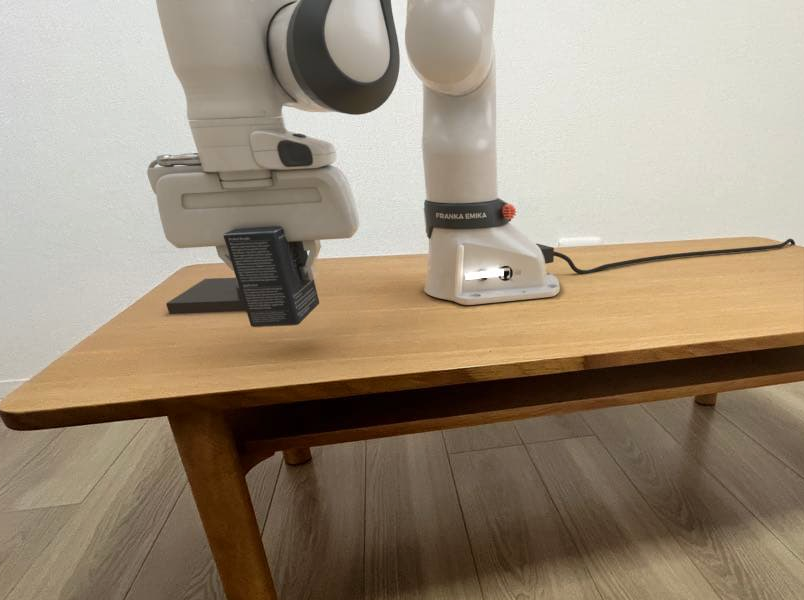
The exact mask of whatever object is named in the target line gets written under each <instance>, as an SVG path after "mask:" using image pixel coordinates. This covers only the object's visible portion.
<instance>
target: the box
mask: <svg viewBox="0 0 804 600" xmlns="http://www.w3.org/2000/svg"><path fill="white" fill-rule="evenodd" d="M223 236H224V239H225V242H226V246H227V249H228V252H229V255H230V259H231V262H232V265H233V269H234V271H233V273H234V272H235V273H234V276H235V275H236V277H235V278H236V279H237V282H238V285H239V288H240V292H241V295H242V299H243V302H244V305H245V308H246V311H245V312H246V314H247V317H248V322H249V325H250V326H251V327H252V328H264V327H265V328H270V327H293V326H298V325H300V324H301V323H302V322H303V321H304V320H305V319H306V318H307V316H309V315H310V314H311V312H313V311H314V309H315V308H317V307H318V305H320V300H319V295H318V291H317V287H316V282H315V280H313V281H302V280H301V277H300V276H301V274H300V273H299V269H298V266H299V265H301V264H302V263H306V261H307V258H308V255H309V253H308V251H305V250H304V247H303V243H302V241H294V242H288V241H287V240H286V237H285V234H284V230H283V228H282V227H279V226H272V227H257V228H244V229H235V230H231V231H229V232H227V233H224V234H223Z"/></svg>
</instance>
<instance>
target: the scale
mask: <svg viewBox="0 0 804 600" xmlns="http://www.w3.org/2000/svg"><path fill="white" fill-rule="evenodd" d="M165 304H166V308H167V311H168V314H169V315H179V314H181V315H182V314H184V315H185V314H206V313H207V314H208V313H232V312H247V311H246V308H245V305H244V302H243V299H242V295H241V292H240V288H239V285H238V283H237V280H236V277H214V278H203V279H202V280H201V281H199V282H198V283H196V284H194V285H193V286H191V287H190V288H188V289H186V290H185V291H183V292H182V293H180V294H179V295H177V296H176V297H174V298H172V299H171V300H169V301H168V302H166V303H165Z"/></svg>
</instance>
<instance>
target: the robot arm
mask: <svg viewBox="0 0 804 600" xmlns="http://www.w3.org/2000/svg"><path fill="white" fill-rule="evenodd" d="M495 2H496V0H407V1H406V17H405V18H406V19H405V29H404V45H405V51H406V55H407V60H408V63H409V65H410V67H411V69H412V71H413V73H414V74H415V75H416V77H417V78H418V79H419V80H420V82H421V83H422V132H421V133H422V137H421V151H422V164H423V175H424V187H425V188H424V189H425V198H426V199H424V202H423V219H424V228H425V234H426V237H427V238H428V256H427V269H426V270H427V271H426V277H425V284H424V288H423V291H424V293H426V294H427V295H428V296H431V297H433V298H435V299H441V300H446V301H452V302H455V303H456V304H460V305H463V306H473V305H484V304H494V303H503V302H504V303H505V302H514V301H523V300H524V301H525V300H533V299H543V298H552V297H555V296H557V295H558V294H559V293H560V290H561V288H560V282H559V281H560V280H559V279H558V278H557V276H555V275H554V274H552V273H551V272H548V271H547V264H552V263H554V259H555V258H554V257H557V258H560V259H563V260H564V261H566V262H567V264H568V265H569V267H570V268H571V270H572V271H573V272H575V273H576V274H580V275H587V274H593V273H598V272H600V271H603V270H606V269H610V268H611V269H612V268H617V267H621V266H629V265H633V264H638V263H644V262H652V261H660V260H667V259H675V258H676V259H677V258H685V257H686V258H687V257H696V256H697V257H698V256H708V255H709V256H710V255H720V254H733V253H745V252H755V251H765V250H775V249H781V248H784V247H786V246H787V245H788V244H789V243H790V244H791V246H795V245H796V242H795V240H794V239H793V238H788V239H786V240H785V241H783V242H782V243H778V244H771V245H770V244H769V245H760V246H749V247H739V248H726V249H725V248H723V249H713V250H704V251H703V250H701V251H689V252H679V253H671V254H663V255H661V254H660V255H653V256H646V257H640V258H633V259H627V260H622V261H618V262H611V263H606V264H602V265H599V266H597V267H594V268H591V269H581V268H578V267H577V266H576V265H575V264H574V262H573V260H572V259H571V258H570V257H569V256H567V254H564V253H561V252H559V251H558V252H557V251H555V248H554V247H553V246H548V245H544V244H540V243H536V242H535V241H533V240H532V239H531V238H529V237H528V236H527V235H526V234H524V233H523V232H522V231H521V230H520V229H518V228H517V227H515V226H514V225H513V224H512V223H511V222H512V219H514V218H515V216H516V215H517V210H516V208H515V206H514V205H513V204H511V203H509V202H507V201H505V200H503V199H502V198H499V195H498V161H497V66H496V65H497V64H496V63H497V61H496V60H497V59H496V47H495V43H494V40H493V31H494V17H495V6H496V5H495V4H496V3H495ZM155 4H156V8H157V14H158V18H159V23H160V27H161V31H162V35H163V39H164V43H165V47H166V51H167V53H168V58H169V60H170V61H169V62H170V65H171V67H172V70H173V73H174V74H175V76H176V77H177V80H178V81H179V83H180V85H181V87H182V89H183V92H184V96H185V101H186V117H187V121H188V125H189V129H190V131H191V136H192V138H193V141H194V145H195V148H196V151H197V152H193V153H192V152H190V153H189V152H188V153H183V154H181V153H180V154H175V155H174V154H173V155H172V154H160V155H157V156H156V159H154V160H152V161H151V162H150V163H149V165H148V167H147V171H146V173H147V179H148V181H149V183H150V186H151V189H152V192H153V193H154V195H155V196H156V203H157V208H158V215H159V219H160V221H161V227H162V230H163V234H164V236H165V239H166V240H167V242H169V243H170V244H171V245H172V246H174V247H175V248H176V249H193V248H194V249H195V248H208V247H210V248H211V247H215V249H216V253H217V256H218V257H219V259H221V260H222V262H223V263H224V264H225V265H226V266H227V267H228V268H229V269H230V270H231V271H233V274H234V278H236V275H235V272H234V269H233V265H232V262H231V259H230V255H229V252H228V249H227V246H226V242H225V239H224V236H223V234H224V233H227V232H229V231H231V230H235V229H244V228H257V227H272V226H279V227H282V228H283V230H284V234H285V237H286V240H287V241H288V242H294V241H302V243H303V247H304V250H305V251H307V252H308V258H307V261H306V263H302V264H301V265H299V266H298V269H299V273H300V274H301V276H300V277H301V280H302V281H313V280H314V281H316V280H317V279H318V272H317V267H316V262H317V259H318V256H319V254H320V252H321V248H322V243H321V241H325V240H341V239H344V240H345V239H350V238H352V237H353V236H354V235H355V234H356V233H357V231H358V229H359V228H360V217H359V213H358V209H357V205H356V201H355V198H354V195H353V191H352V188H351V184H350V182H349V180H348V178H347V177H346V175H345V173H344V172H343V171H342V170H341V168H339V167H337V166H335V165H333V164H334V163H335V162H336V161H337V152H336V148H335V145H334V144H333V143H332V142H329V141H327V140H324V139H323V140H322V139H320V138H319V139H318V138H315V137H312V136H307V135H306V134H303V133H298V132H292V131H289V130H288V129H287V128H286V124H285V120H284V115H283V107H289V108H294V109H297V110H299V111H302V112H308V113H340V114H346V115H351V116H352V115H353V116H356V115H357V116H358V115H365V114H368V113H372V112H374V111H375V110H378V109H379V108H380V107H381V106H383V105H384V104H385V103H386V102H387V100H388V99H389V98H390V97H391V95H392V94H393V91H394V90H395V88H396V84H397V82H398V79H399V74H400V66H401V65H400V64H401V59H400V58H401V57H400V56H401V55H400V45H399V40H398V33H397V30H396V24H395V23H396V22H395V18H394V13H393V7H392V0H155ZM157 165H158V166H157ZM236 280H237V279H236ZM237 283H238V282H237Z"/></svg>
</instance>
